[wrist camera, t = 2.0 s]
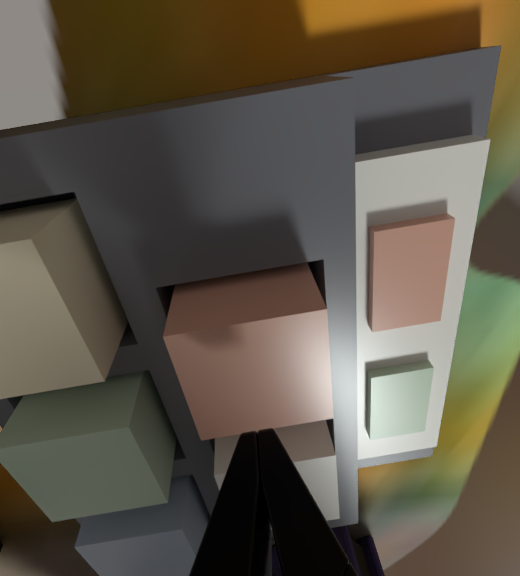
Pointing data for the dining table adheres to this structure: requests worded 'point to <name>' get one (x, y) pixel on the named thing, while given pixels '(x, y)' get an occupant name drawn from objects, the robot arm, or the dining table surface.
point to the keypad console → (290, 229)
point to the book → (348, 554)
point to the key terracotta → (251, 350)
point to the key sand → (54, 302)
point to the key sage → (91, 447)
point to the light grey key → (298, 461)
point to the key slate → (147, 535)
